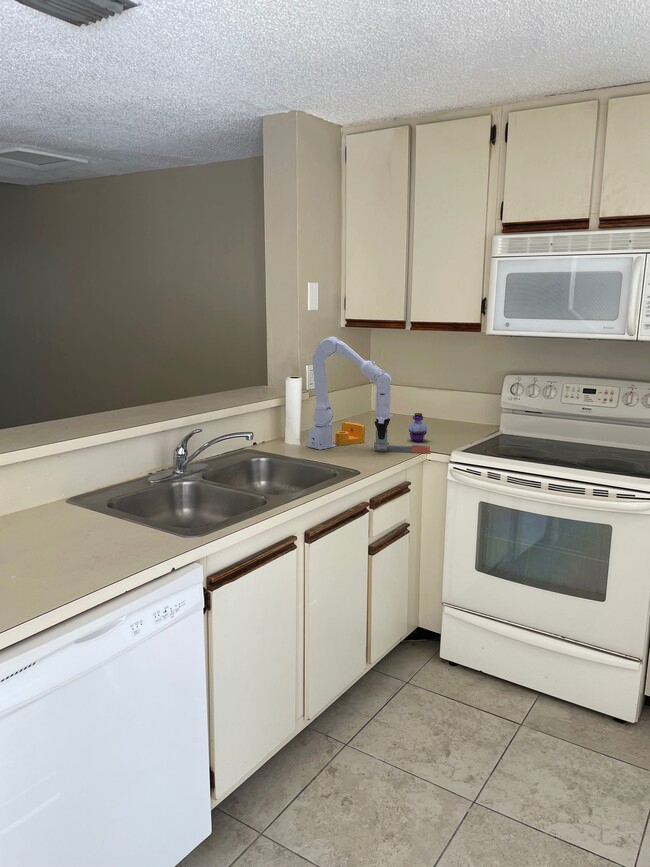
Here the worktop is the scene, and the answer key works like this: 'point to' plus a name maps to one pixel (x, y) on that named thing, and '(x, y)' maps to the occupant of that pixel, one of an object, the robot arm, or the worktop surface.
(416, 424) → the potion bottle
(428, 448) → the ratchet
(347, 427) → the bracket
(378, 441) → the grey brushed cube
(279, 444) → the worktop surface
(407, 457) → the worktop surface
